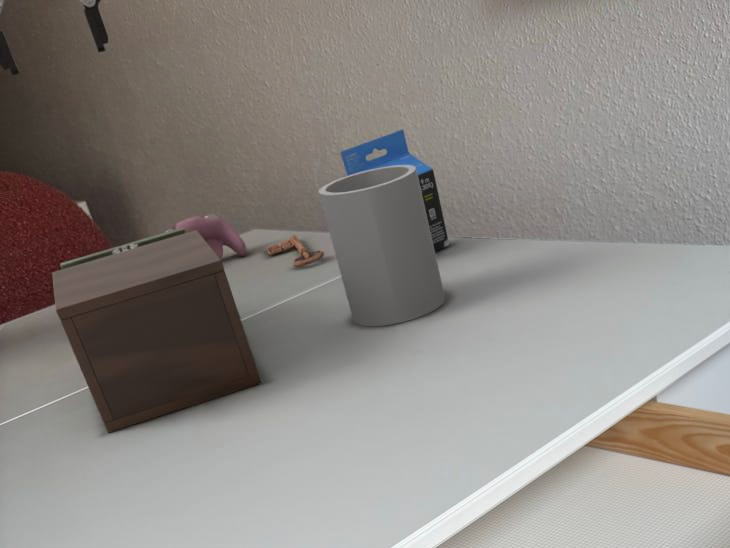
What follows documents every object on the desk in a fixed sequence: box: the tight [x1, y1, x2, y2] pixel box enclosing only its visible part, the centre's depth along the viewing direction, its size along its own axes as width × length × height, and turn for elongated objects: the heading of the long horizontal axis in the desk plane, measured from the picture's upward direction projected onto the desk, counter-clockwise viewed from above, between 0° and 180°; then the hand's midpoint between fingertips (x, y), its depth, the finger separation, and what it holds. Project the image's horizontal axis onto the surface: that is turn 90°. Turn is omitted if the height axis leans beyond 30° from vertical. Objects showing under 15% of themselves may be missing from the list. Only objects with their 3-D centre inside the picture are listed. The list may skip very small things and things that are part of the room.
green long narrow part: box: [60, 228, 186, 270], centre depth 108 cm, size 20×13×9 cm, turn 20°
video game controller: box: [164, 213, 248, 260], centre depth 138 cm, size 10×5×7 cm, turn 130°
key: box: [265, 234, 325, 268], centre depth 133 cm, size 6×1×15 cm
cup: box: [318, 165, 446, 327], centre depth 103 cm, size 9×9×12 cm
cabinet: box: [51, 230, 263, 434], centre depth 98 cm, size 16×14×11 cm
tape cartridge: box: [340, 129, 450, 252], centre depth 118 cm, size 9×4×12 cm, turn 132°
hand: (58, 62), depth 108 cm, fingers open, 8 cm apart
